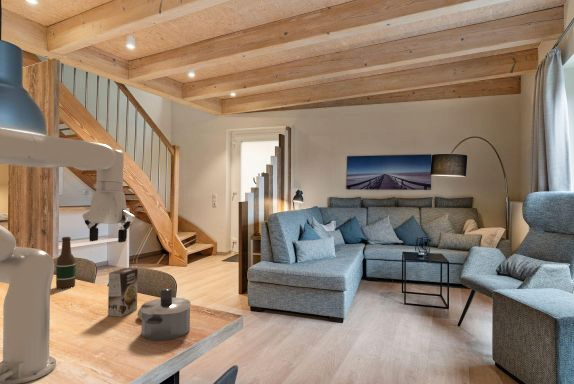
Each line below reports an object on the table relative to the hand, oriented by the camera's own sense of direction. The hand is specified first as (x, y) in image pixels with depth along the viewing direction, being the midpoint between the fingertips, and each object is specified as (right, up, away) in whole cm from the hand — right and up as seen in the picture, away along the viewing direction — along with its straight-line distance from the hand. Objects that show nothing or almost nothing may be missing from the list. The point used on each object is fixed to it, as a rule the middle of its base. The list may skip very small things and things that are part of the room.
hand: (107, 241), depth 109 cm
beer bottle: (-49, -30, +55) cm, 80 cm away
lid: (+17, -24, +5) cm, 30 cm away
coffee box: (-6, -31, +22) cm, 38 cm away
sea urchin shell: (+7, -31, +17) cm, 36 cm away
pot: (+17, -31, +5) cm, 35 cm away
